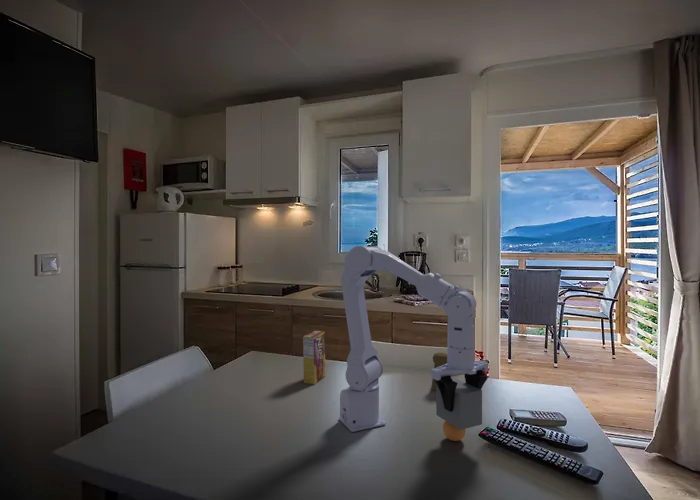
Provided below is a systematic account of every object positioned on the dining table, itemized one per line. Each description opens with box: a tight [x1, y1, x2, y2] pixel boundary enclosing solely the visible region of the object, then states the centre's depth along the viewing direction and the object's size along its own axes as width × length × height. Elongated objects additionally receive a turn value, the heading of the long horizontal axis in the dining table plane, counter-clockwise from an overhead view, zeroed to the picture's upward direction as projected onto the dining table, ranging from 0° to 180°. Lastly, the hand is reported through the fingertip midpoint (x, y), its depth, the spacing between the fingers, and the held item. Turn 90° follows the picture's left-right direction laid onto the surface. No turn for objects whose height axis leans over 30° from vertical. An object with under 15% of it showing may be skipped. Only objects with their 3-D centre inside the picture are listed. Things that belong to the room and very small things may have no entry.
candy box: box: [302, 330, 327, 385], centre depth 126 cm, size 9×4×15 cm, turn 160°
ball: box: [442, 420, 467, 442], centre depth 87 cm, size 5×5×5 cm
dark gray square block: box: [435, 378, 483, 430], centre depth 85 cm, size 6×8×7 cm
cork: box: [430, 352, 447, 392], centre depth 118 cm, size 6×6×11 cm
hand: (460, 407), depth 84 cm, fingers closed on dark gray square block, 6 cm apart
